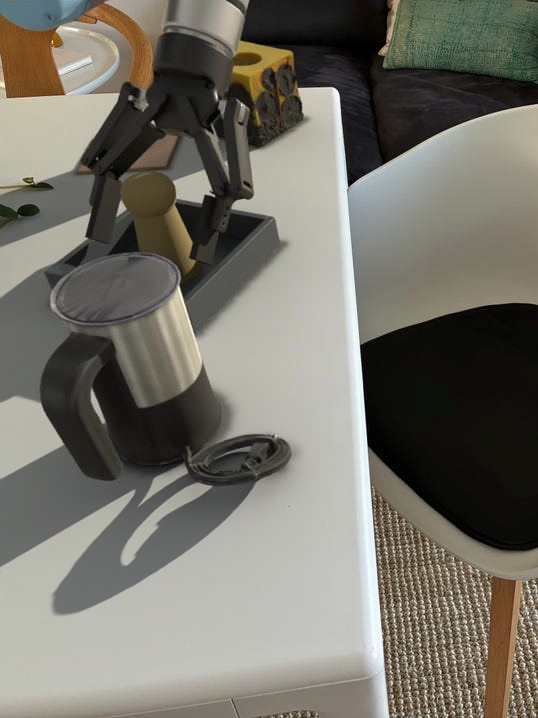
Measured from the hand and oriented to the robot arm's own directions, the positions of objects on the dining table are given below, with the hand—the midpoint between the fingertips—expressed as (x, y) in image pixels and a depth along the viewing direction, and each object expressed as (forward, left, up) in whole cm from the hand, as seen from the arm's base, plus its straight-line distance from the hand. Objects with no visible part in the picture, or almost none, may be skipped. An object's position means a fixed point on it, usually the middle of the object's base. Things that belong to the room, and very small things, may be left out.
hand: (147, 251), depth 79 cm
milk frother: (+8, -24, -5) cm, 25 cm away
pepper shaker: (+1, +2, -4) cm, 5 cm away
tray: (+1, +2, -4) cm, 5 cm away
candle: (+6, +38, -5) cm, 39 cm away
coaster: (-10, +32, -4) cm, 34 cm away
